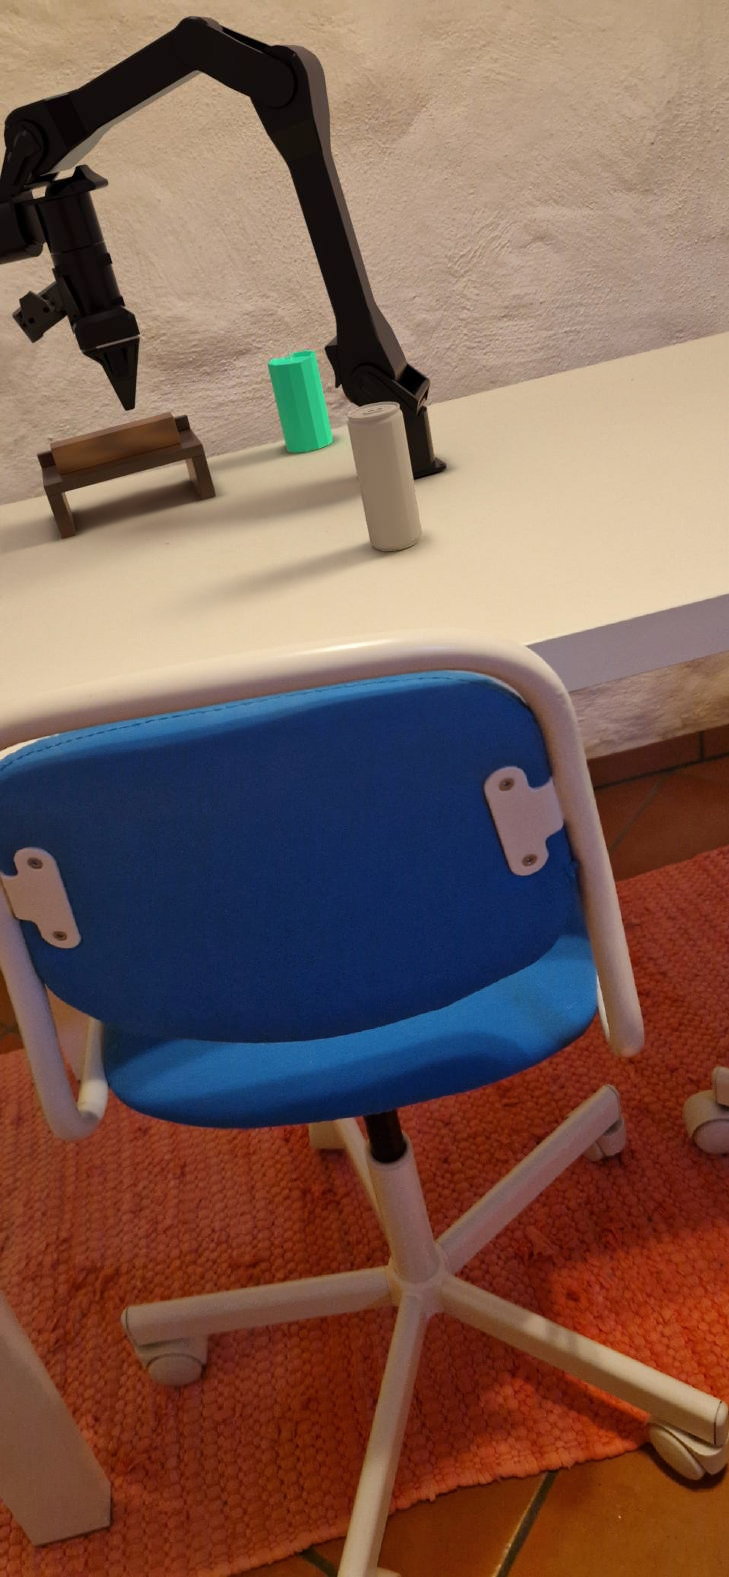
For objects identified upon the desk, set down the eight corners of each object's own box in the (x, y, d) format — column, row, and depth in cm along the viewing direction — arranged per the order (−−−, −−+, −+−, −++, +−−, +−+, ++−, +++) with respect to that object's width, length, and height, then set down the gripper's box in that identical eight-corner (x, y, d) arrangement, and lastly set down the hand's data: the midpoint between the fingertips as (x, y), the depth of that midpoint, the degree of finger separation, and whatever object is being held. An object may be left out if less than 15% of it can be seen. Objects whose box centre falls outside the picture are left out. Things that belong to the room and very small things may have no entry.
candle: (335, 434, 134) (315, 334, 128) (330, 447, 129) (309, 344, 123) (290, 442, 135) (267, 343, 129) (282, 455, 131) (259, 354, 124)
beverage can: (368, 539, 99) (343, 409, 93) (419, 529, 99) (397, 397, 93) (373, 557, 95) (347, 422, 89) (426, 546, 95) (404, 409, 89)
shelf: (216, 496, 121) (198, 430, 117) (61, 538, 119) (38, 472, 115) (203, 476, 130) (186, 414, 126) (58, 515, 127) (36, 453, 123)
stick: (177, 438, 123) (170, 411, 121) (180, 443, 120) (173, 416, 119) (58, 469, 121) (49, 443, 119) (59, 475, 118) (50, 448, 117)
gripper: (1, 263, 115) (52, 408, 124) (-1, 273, 100) (57, 438, 108) (100, 238, 117) (144, 383, 125) (113, 244, 101) (163, 409, 109)
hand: (126, 403), depth 117 cm, fingers open, 9 cm apart
